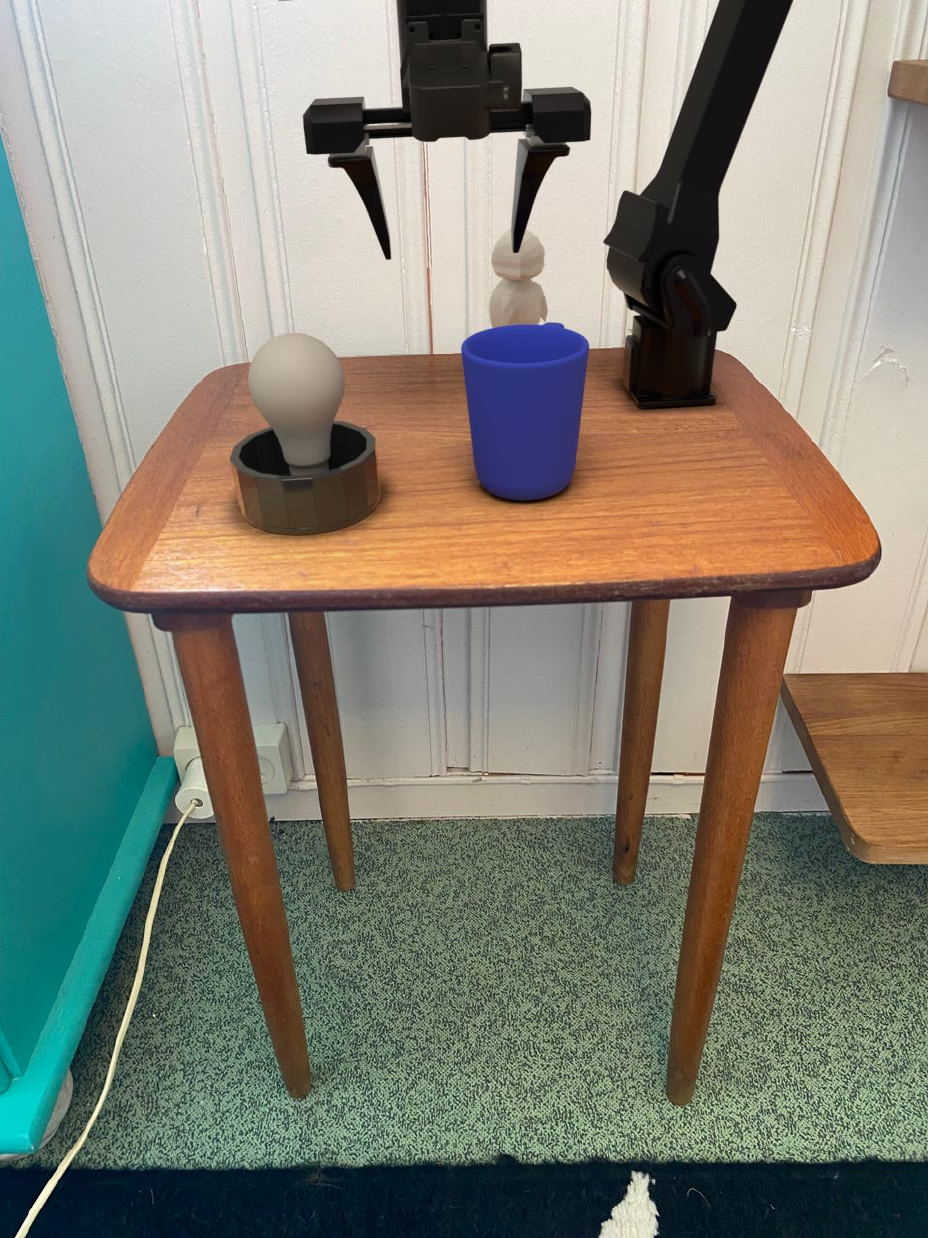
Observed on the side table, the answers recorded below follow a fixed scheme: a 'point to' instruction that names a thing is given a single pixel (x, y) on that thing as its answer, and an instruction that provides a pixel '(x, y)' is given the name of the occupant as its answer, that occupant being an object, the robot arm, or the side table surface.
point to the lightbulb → (298, 397)
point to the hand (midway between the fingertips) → (452, 255)
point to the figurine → (517, 282)
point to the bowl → (306, 483)
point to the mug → (525, 406)
